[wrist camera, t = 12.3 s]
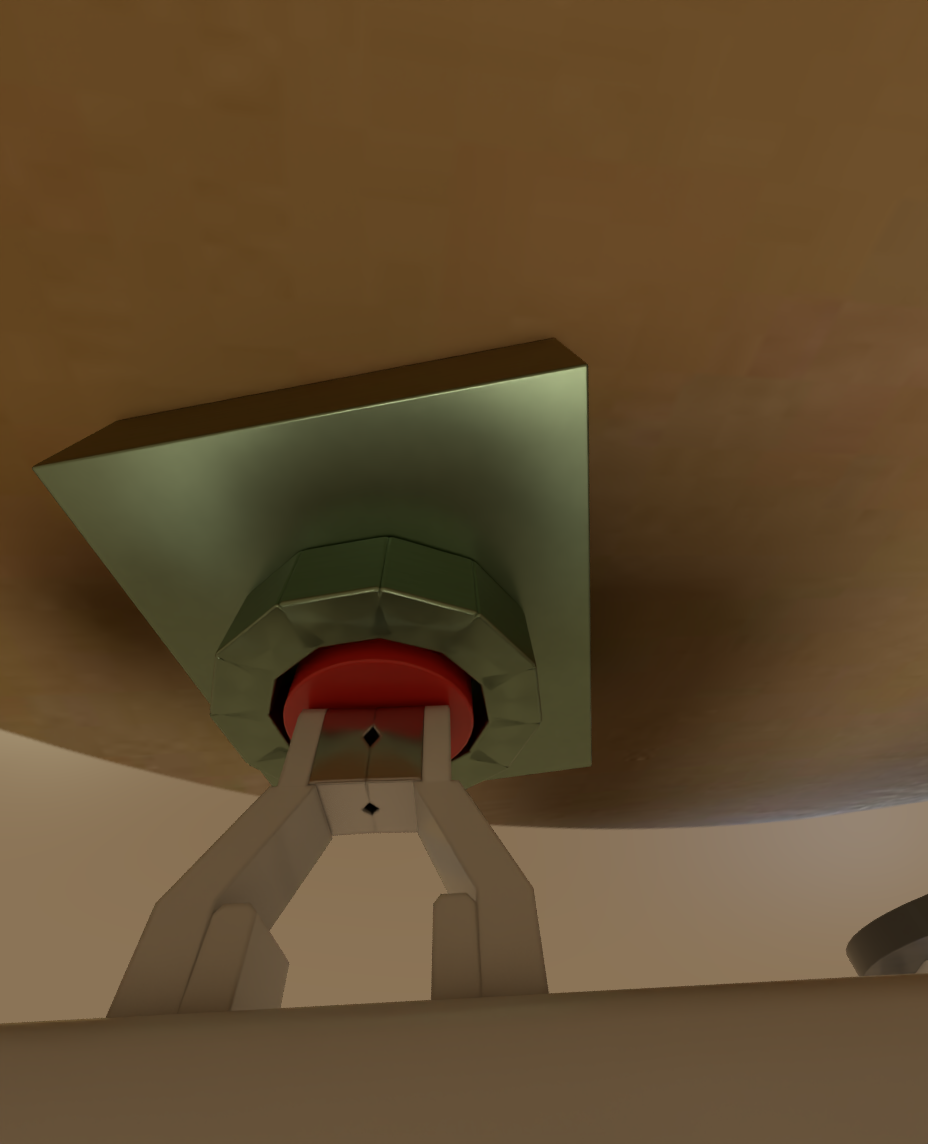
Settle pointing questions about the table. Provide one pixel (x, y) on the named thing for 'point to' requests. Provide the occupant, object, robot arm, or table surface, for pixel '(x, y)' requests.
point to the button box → (364, 541)
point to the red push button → (381, 683)
